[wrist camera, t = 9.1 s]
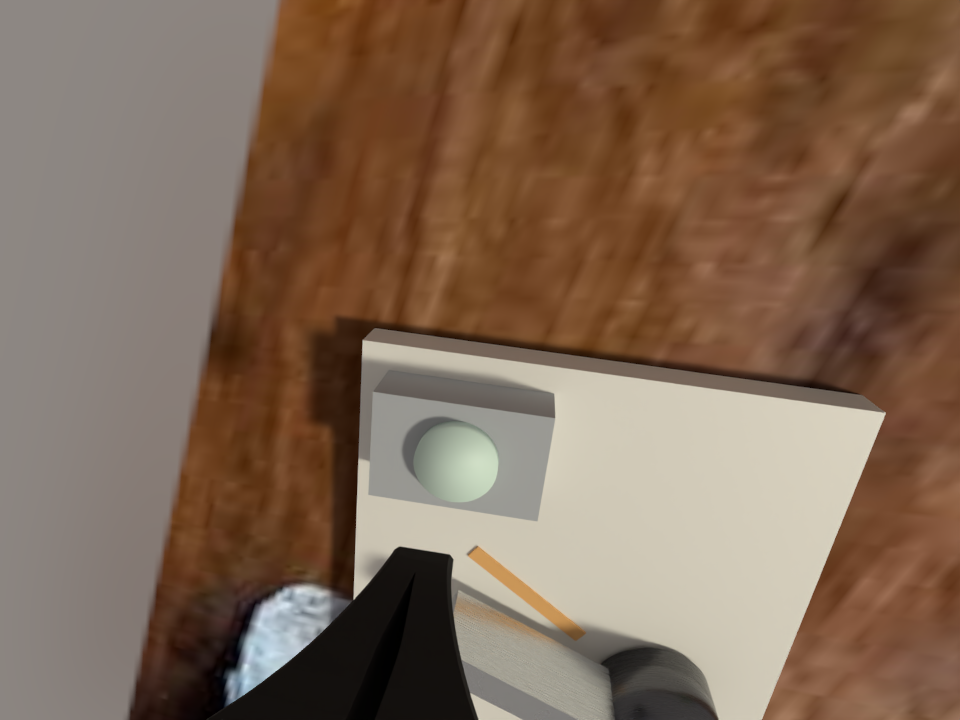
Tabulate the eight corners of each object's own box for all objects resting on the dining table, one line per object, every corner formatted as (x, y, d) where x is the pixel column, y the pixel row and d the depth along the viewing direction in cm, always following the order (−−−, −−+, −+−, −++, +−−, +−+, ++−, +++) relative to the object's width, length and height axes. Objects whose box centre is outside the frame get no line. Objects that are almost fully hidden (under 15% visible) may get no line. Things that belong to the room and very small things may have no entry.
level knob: (734, 683, 23) (765, 770, 20) (662, 750, 25) (680, 840, 22) (482, 549, 22) (472, 617, 19) (426, 629, 24) (407, 703, 21)
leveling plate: (729, 739, 26) (760, 835, 23) (359, 673, 28) (330, 754, 24) (862, 394, 20) (934, 449, 16) (374, 327, 21) (338, 364, 18)
